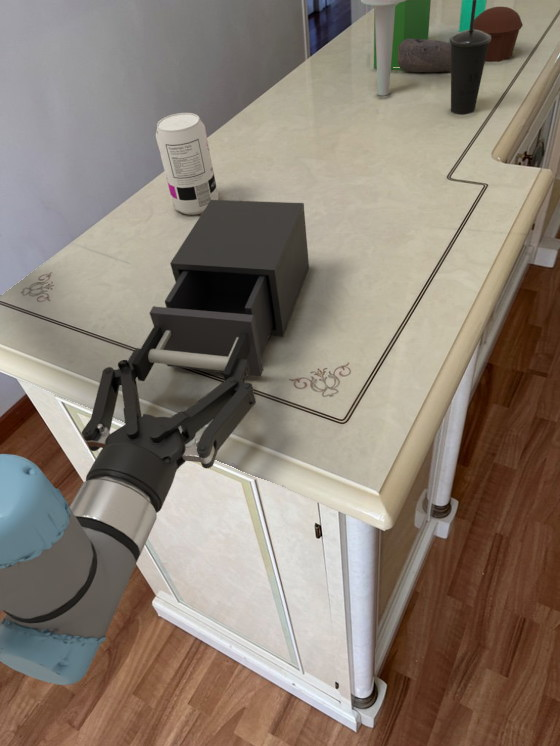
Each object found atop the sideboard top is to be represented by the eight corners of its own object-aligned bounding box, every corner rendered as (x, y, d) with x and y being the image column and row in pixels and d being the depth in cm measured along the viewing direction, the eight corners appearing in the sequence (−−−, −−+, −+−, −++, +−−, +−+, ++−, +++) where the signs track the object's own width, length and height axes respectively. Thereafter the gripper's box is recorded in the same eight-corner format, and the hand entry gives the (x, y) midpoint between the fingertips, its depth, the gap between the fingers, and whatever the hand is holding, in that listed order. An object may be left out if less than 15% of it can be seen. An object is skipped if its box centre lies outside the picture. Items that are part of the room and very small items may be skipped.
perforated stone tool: (463, 68, 139) (467, 35, 134) (460, 76, 136) (463, 43, 131) (400, 67, 144) (401, 35, 139) (395, 74, 141) (396, 43, 136)
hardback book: (400, 44, 156) (404, -67, 139) (427, 46, 153) (435, -68, 136) (373, 68, 145) (374, -49, 129) (402, 70, 142) (407, -50, 125)
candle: (472, 44, 150) (479, -10, 142) (453, 40, 153) (458, -13, 145) (486, 37, 153) (493, -17, 144) (466, 34, 156) (472, -19, 147)
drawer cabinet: (283, 336, 78) (274, 269, 71) (188, 327, 82) (169, 263, 74) (309, 267, 89) (303, 202, 81) (223, 262, 92) (210, 199, 85)
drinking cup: (436, 109, 124) (444, 1, 110) (465, 99, 126) (477, -9, 112) (459, 120, 119) (472, 8, 105) (489, 110, 121) (505, -2, 107)
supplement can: (165, 210, 106) (143, 128, 95) (194, 189, 110) (176, 108, 100) (199, 220, 102) (180, 135, 92) (228, 198, 107) (213, 114, 96)
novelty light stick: (356, 102, 132) (355, -31, 114) (366, 85, 138) (366, -43, 120) (401, 102, 129) (406, -33, 111) (409, 85, 135) (415, -45, 118)
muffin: (508, 45, 147) (516, -1, 140) (524, 59, 139) (533, 11, 132) (461, 51, 147) (466, 6, 140) (474, 66, 139) (480, 18, 132)
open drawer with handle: (249, 407, 69) (237, 351, 63) (151, 394, 72) (131, 341, 66) (289, 302, 82) (282, 248, 76) (205, 296, 85) (192, 243, 79)
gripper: (32, 501, 60) (124, 352, 74) (243, 540, 54) (297, 370, 69) (-1, 456, 54) (106, 306, 69) (229, 494, 49) (292, 322, 64)
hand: (201, 338), depth 69 cm, fingers open, 10 cm apart
